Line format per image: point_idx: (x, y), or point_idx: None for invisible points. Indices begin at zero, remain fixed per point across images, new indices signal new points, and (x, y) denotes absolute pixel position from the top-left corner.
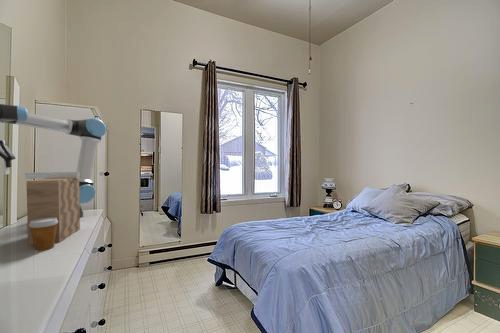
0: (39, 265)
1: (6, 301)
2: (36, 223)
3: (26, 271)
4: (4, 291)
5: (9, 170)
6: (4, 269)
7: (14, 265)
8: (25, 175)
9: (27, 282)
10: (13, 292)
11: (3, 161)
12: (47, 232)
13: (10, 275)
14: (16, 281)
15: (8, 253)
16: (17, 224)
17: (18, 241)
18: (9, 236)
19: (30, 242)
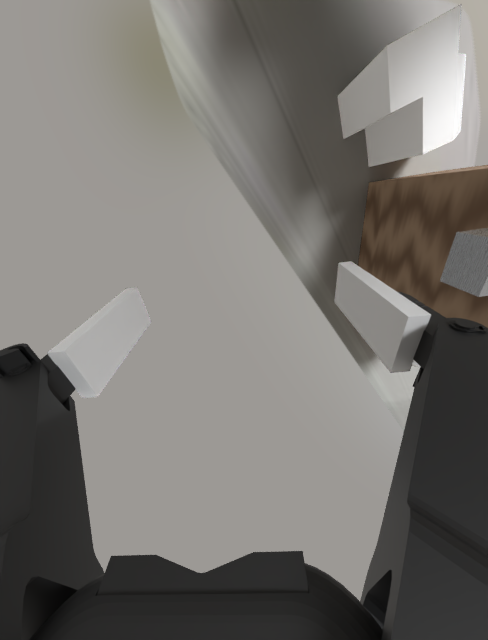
0: (404, 374)
1: (400, 424)
2: (419, 365)
3: (395, 386)
4: (392, 414)
5: (365, 271)
6: (369, 380)
7: (374, 372)
8: (461, 288)
9: (405, 404)
10: (400, 416)
11: (393, 368)
12: None
13: (383, 392)
14: (394, 402)
15: (343, 335)
16: (176, 21)
17: (323, 274)
18: (277, 229)
19: None
